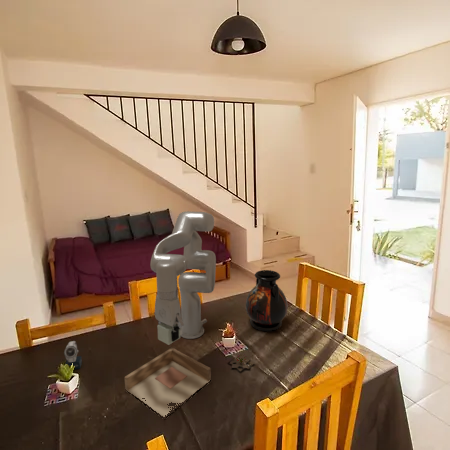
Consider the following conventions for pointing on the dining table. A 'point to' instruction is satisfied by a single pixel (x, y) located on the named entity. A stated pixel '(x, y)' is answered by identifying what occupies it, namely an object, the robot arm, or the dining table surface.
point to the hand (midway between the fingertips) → (169, 336)
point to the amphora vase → (266, 302)
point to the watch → (72, 355)
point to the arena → (167, 380)
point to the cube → (165, 333)
